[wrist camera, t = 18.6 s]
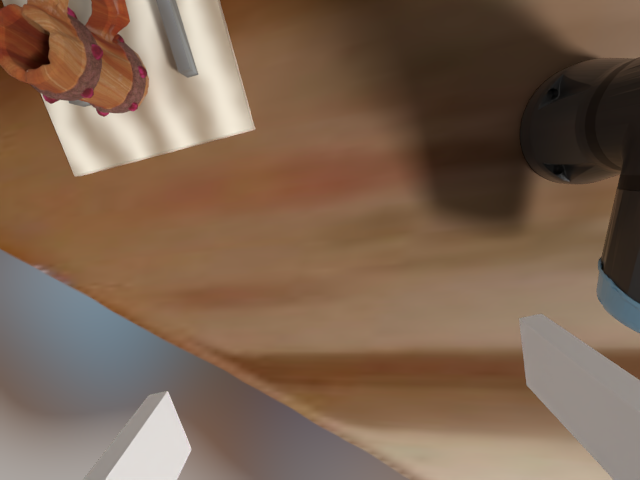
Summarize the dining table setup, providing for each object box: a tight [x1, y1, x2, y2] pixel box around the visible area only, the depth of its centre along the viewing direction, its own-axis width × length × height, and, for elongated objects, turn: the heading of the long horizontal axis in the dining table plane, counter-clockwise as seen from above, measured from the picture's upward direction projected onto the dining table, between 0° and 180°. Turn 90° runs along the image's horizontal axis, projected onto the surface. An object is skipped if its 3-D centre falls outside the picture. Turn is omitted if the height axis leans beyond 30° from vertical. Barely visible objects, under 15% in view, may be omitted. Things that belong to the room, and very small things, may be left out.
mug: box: [0, 0, 149, 117], centre depth 33 cm, size 15×8×15 cm, turn 155°
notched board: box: [2, 0, 255, 176], centre depth 39 cm, size 26×22×4 cm
